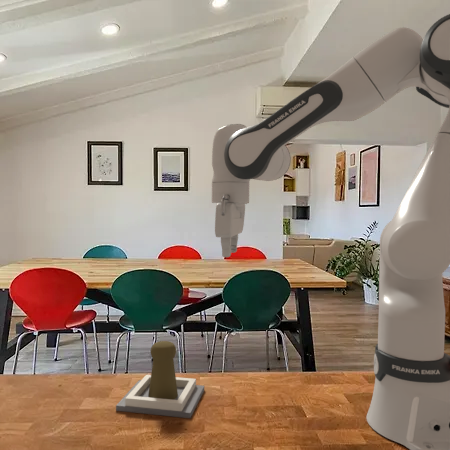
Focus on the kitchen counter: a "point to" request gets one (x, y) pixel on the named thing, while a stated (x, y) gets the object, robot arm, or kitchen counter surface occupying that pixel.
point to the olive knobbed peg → (163, 371)
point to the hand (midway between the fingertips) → (229, 254)
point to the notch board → (177, 407)
